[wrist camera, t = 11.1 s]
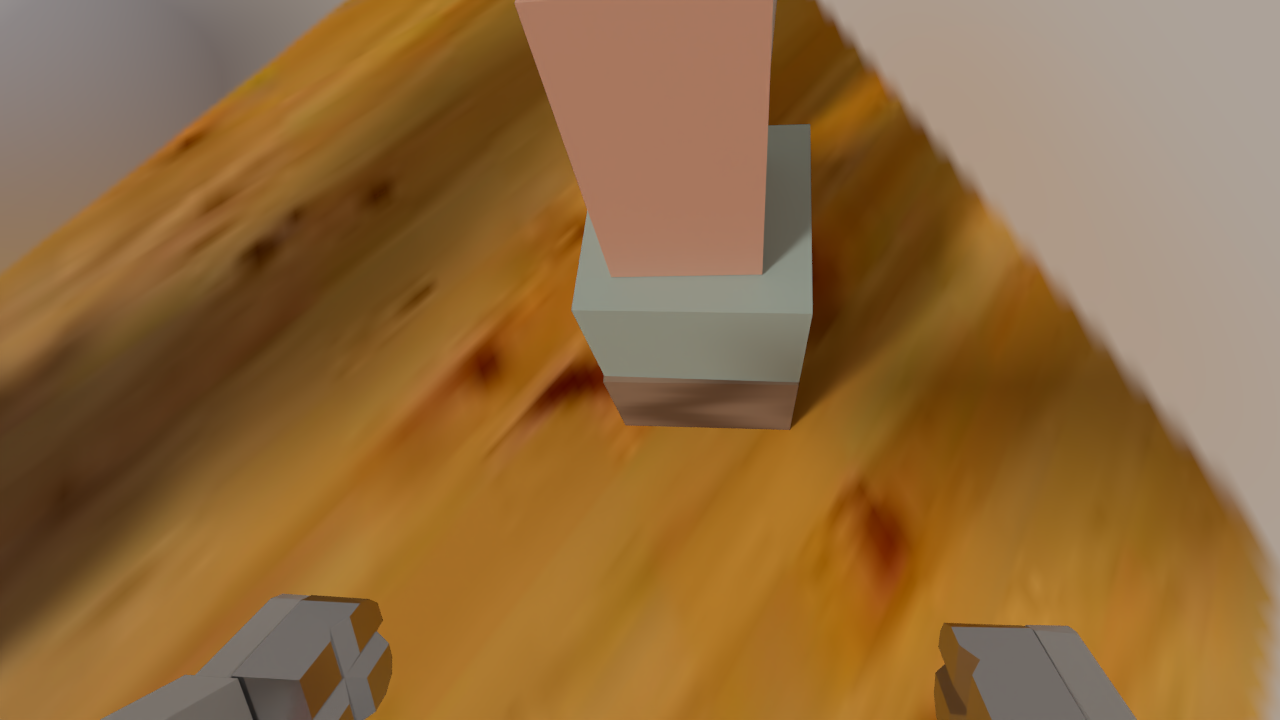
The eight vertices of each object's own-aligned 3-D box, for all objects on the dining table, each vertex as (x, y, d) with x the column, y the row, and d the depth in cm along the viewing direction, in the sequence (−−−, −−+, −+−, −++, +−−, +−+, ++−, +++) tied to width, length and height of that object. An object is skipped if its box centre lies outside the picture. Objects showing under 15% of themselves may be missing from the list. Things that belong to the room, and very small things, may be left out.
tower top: (604, 375, 24) (571, 310, 19) (625, 220, 26) (600, 131, 22) (799, 382, 22) (812, 313, 18) (798, 218, 25) (810, 123, 21)
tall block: (611, 277, 19) (514, 3, 11) (623, 161, 21) (548, -144, 13) (762, 274, 19) (774, -22, 11) (761, 155, 20) (771, -173, 12)
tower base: (626, 425, 28) (603, 382, 23) (638, 287, 31) (620, 225, 26) (789, 430, 27) (798, 384, 22) (787, 286, 30) (794, 220, 25)
